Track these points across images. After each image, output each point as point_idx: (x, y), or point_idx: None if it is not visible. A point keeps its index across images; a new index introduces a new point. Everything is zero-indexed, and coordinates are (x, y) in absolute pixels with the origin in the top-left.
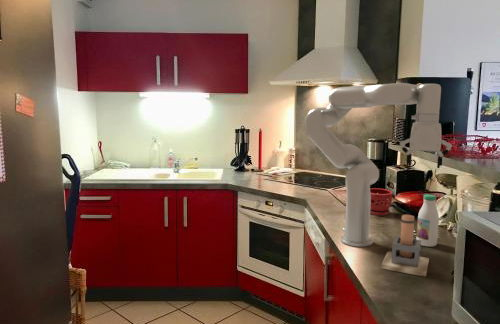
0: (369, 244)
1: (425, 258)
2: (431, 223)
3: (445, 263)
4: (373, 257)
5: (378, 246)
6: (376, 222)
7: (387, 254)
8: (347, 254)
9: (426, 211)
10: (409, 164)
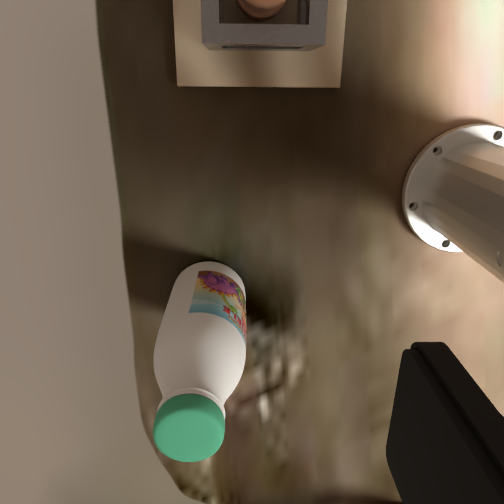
0: (414, 162)
1: (189, 73)
2: (183, 308)
3: (120, 104)
4: (390, 27)
5: (376, 176)
6: None
7: (338, 41)
8: (499, 7)
9: (204, 344)
10: (429, 355)
